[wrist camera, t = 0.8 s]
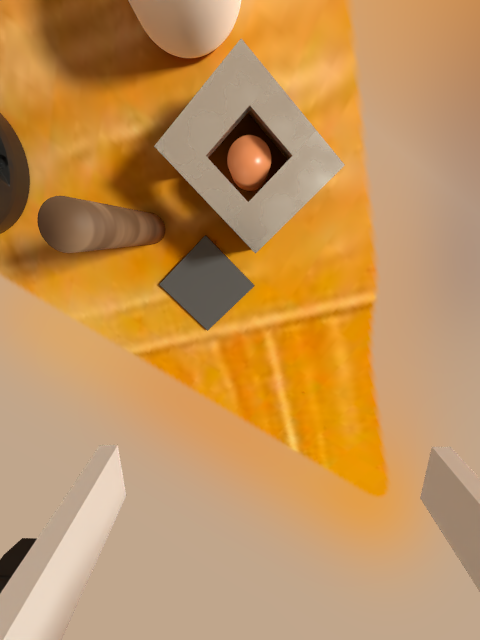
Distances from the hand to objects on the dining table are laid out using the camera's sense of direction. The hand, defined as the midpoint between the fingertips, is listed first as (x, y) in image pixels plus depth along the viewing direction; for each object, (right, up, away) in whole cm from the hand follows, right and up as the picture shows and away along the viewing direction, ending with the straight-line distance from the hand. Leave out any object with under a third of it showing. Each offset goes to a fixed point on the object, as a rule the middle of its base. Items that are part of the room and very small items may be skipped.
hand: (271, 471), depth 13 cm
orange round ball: (0, +22, +17) cm, 28 cm away
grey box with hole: (0, +22, +19) cm, 29 cm away
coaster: (-5, +11, +23) cm, 26 cm away
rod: (-12, +17, +21) cm, 30 cm away
